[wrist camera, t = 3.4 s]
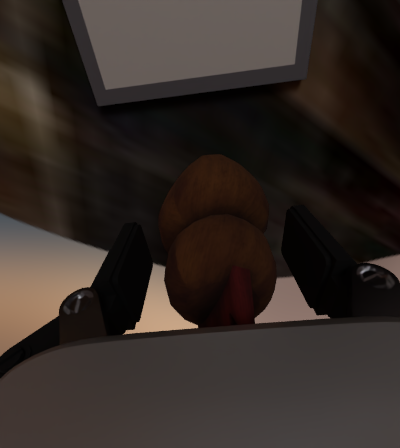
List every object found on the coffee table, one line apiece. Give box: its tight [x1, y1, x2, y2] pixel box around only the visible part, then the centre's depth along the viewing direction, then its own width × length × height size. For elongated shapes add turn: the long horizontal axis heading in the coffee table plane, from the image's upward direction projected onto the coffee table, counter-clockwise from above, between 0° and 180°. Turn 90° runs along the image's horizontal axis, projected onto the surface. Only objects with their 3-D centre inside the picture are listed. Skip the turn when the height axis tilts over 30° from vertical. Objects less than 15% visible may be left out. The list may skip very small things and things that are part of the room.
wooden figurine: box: [159, 154, 277, 328], centre depth 11 cm, size 7×6×15 cm
